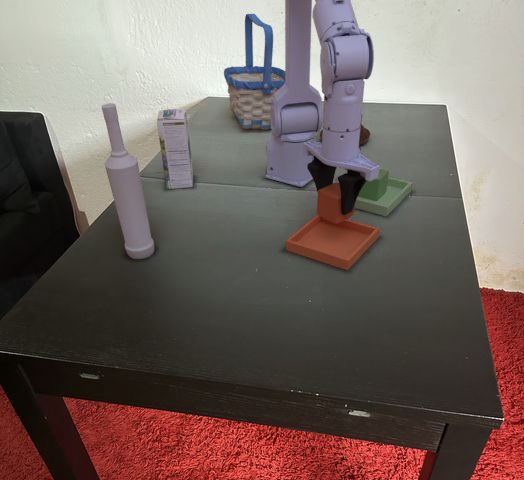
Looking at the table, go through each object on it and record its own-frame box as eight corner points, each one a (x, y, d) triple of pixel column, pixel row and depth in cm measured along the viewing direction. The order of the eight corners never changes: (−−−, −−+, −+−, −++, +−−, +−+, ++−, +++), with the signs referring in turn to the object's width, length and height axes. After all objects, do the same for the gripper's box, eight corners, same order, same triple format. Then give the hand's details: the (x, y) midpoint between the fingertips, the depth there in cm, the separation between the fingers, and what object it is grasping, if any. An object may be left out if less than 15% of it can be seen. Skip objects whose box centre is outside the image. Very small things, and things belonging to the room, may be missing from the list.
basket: (299, 131, 134) (300, 25, 118) (235, 139, 131) (228, 31, 115) (279, 105, 148) (278, 7, 132) (222, 111, 146) (214, 13, 130)
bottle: (160, 246, 95) (132, 101, 78) (147, 261, 92) (114, 113, 75) (135, 242, 97) (102, 98, 80) (121, 257, 93) (83, 110, 76)
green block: (356, 196, 106) (358, 174, 103) (366, 187, 109) (368, 166, 106) (376, 201, 104) (379, 179, 101) (386, 192, 107) (389, 171, 104)
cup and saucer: (377, 137, 129) (380, 111, 125) (356, 154, 122) (359, 127, 118) (333, 128, 134) (335, 103, 130) (311, 145, 127) (312, 118, 123)
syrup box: (167, 178, 116) (156, 109, 106) (194, 176, 116) (185, 107, 106) (166, 189, 112) (154, 119, 102) (194, 187, 112) (185, 117, 102)
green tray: (330, 201, 106) (330, 192, 104) (357, 178, 113) (358, 169, 112) (386, 216, 100) (387, 207, 99) (411, 191, 108) (412, 182, 106)
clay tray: (285, 250, 93) (285, 240, 92) (319, 220, 100) (320, 211, 99) (347, 270, 88) (348, 260, 86) (378, 237, 95) (379, 228, 94)
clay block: (316, 214, 90) (317, 190, 87) (334, 206, 92) (336, 181, 89) (336, 224, 88) (337, 199, 85) (353, 214, 90) (356, 190, 87)
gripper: (396, 130, 78) (384, 214, 87) (325, 107, 86) (321, 186, 95) (365, 144, 74) (356, 229, 84) (294, 119, 83) (293, 199, 92)
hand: (336, 207), depth 89 cm, fingers closed on clay block, 4 cm apart
